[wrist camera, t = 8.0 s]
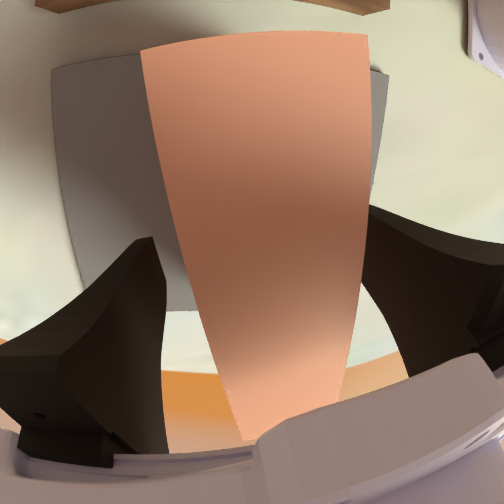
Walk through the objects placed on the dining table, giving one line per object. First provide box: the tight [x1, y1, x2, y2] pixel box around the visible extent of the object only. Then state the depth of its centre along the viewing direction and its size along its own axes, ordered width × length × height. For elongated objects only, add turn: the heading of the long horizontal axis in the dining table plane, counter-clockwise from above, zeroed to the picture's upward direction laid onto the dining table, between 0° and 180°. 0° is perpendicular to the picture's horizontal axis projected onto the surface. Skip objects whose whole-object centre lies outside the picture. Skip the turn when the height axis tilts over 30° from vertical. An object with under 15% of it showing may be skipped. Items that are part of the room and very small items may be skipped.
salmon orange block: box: [140, 31, 372, 441], centre depth 11 cm, size 4×12×9 cm, turn 6°
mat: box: [51, 54, 389, 311], centre depth 15 cm, size 16×14×1 cm
